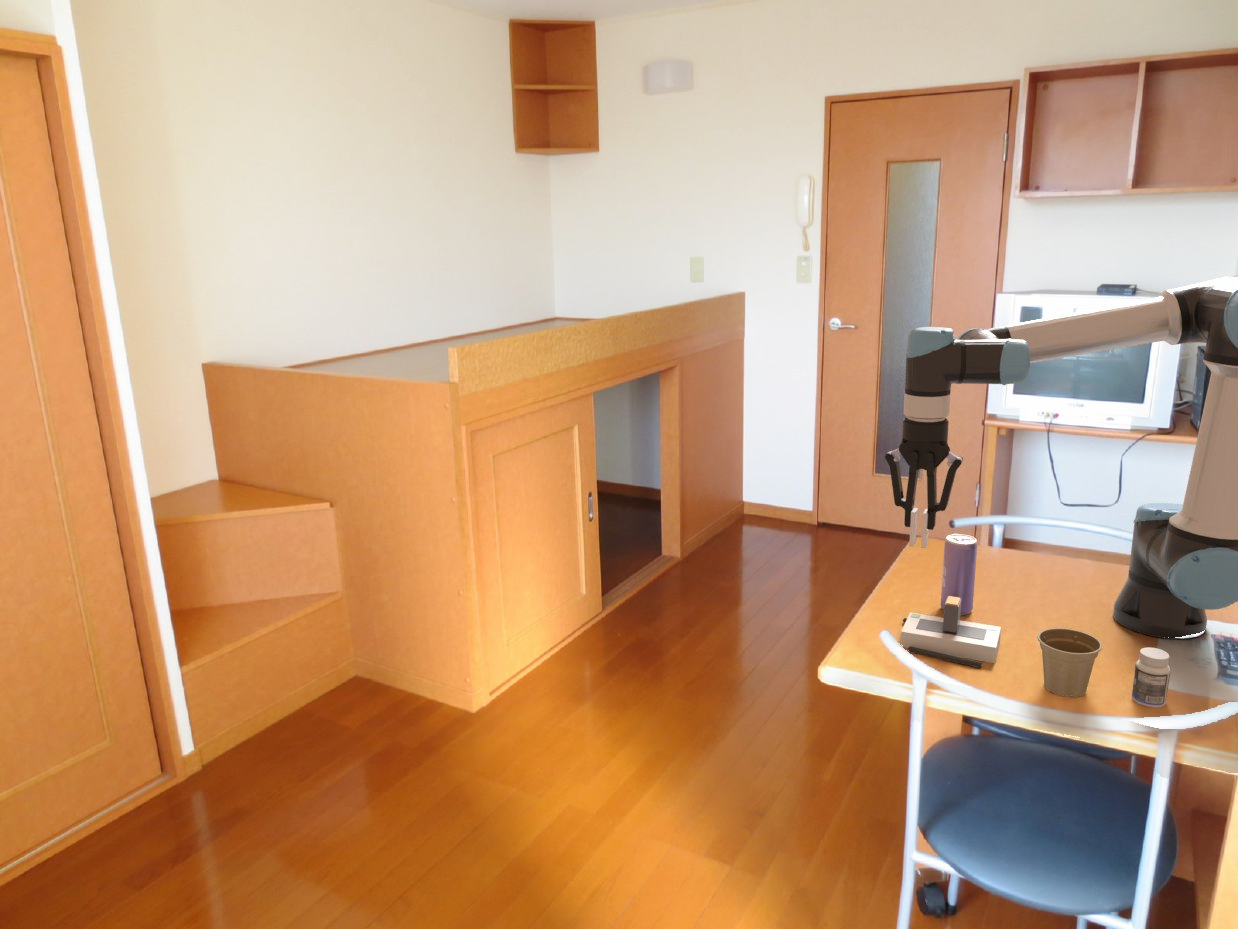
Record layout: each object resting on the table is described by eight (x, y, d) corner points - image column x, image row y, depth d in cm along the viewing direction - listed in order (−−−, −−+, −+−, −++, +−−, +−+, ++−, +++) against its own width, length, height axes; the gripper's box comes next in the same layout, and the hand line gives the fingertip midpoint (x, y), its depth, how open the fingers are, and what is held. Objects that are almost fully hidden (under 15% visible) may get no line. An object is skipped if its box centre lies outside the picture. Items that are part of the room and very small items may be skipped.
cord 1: (981, 666, 153) (981, 661, 153) (980, 669, 153) (980, 663, 152) (908, 650, 160) (908, 645, 160) (906, 652, 159) (907, 647, 159)
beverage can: (974, 617, 172) (980, 544, 169) (942, 615, 174) (947, 543, 170) (969, 604, 178) (974, 534, 174) (938, 603, 179) (942, 533, 175)
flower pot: (1028, 693, 144) (1032, 645, 142) (1038, 669, 152) (1042, 623, 150) (1092, 708, 139) (1098, 659, 137) (1099, 683, 147) (1105, 635, 144)
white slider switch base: (999, 642, 162) (1001, 626, 161) (994, 663, 154) (996, 647, 154) (909, 626, 169) (910, 612, 168) (900, 646, 162) (901, 631, 161)
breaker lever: (959, 624, 162) (961, 597, 161) (956, 632, 159) (958, 605, 157) (945, 621, 163) (947, 595, 162) (942, 630, 160) (944, 603, 158)
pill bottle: (1138, 690, 144) (1144, 643, 142) (1170, 701, 141) (1177, 653, 138) (1126, 700, 141) (1132, 652, 139) (1158, 712, 138) (1165, 663, 136)
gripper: (972, 415, 154) (963, 543, 160) (887, 410, 160) (882, 533, 167) (967, 424, 148) (958, 557, 154) (879, 418, 154) (873, 546, 160)
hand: (918, 544), depth 160 cm, fingers closed
